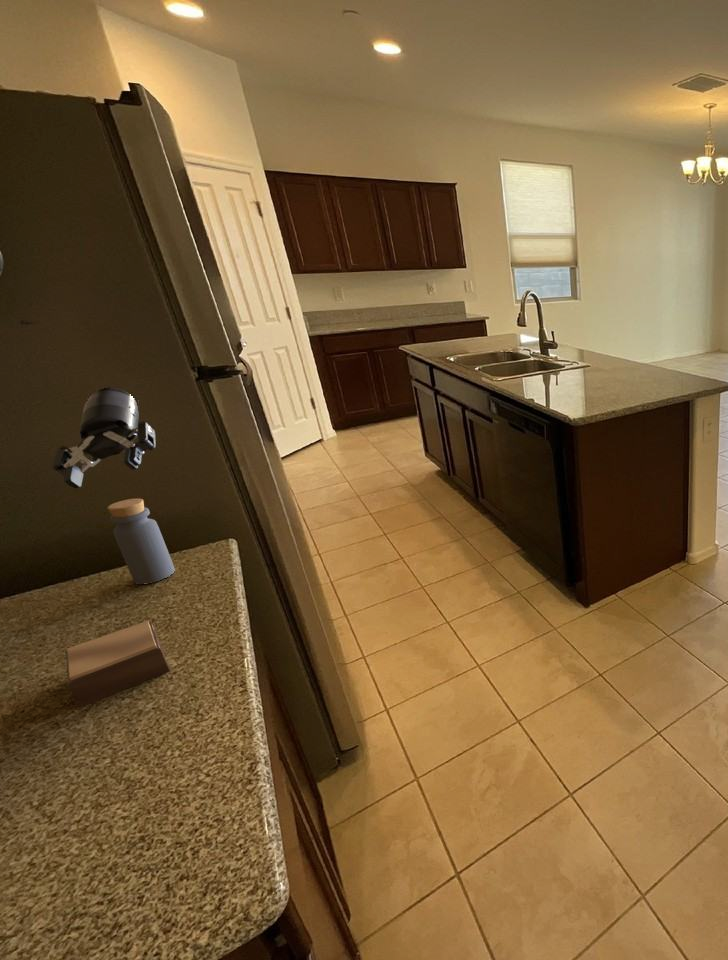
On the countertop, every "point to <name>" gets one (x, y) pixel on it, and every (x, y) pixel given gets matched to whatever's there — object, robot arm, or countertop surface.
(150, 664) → the stand
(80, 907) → the countertop surface
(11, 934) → the countertop surface
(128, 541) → the bottle
